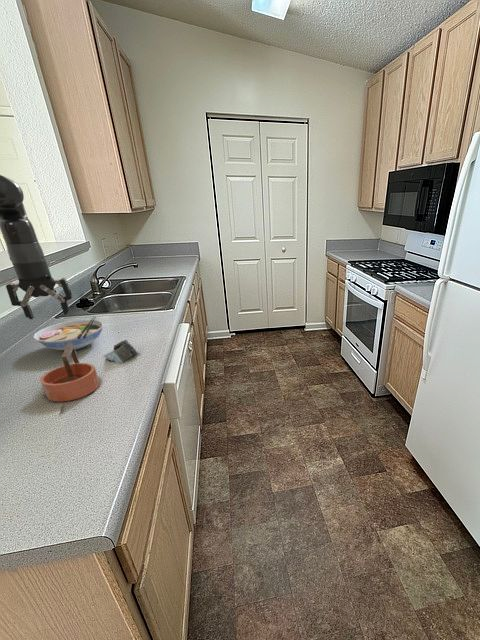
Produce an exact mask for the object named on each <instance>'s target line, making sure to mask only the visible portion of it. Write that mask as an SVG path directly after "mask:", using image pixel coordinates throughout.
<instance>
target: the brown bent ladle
mask: <svg viewBox="0 0 480 640" xmlns="http://www.w3.org/2000/svg"><path fill="white" fill-rule="evenodd" d="M71 357H72V360H73V364H74V363H81V362H80V359H79V356H78V353H77V350H75V348H74V345H73V342H72V341H70V342H68V343H67V346H66V348H65V350H63V353H62V355H61V360H62V362H63V366H65V368H66V371H67V374H68V377H71V378H68V379H65V380H63V381H62V383H66V382H70V381H74V380H77V379H79V378H80V377H73V376H74V375H73V372H72V369H71V366H70V364H71V363H70V358H71Z"/></svg>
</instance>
